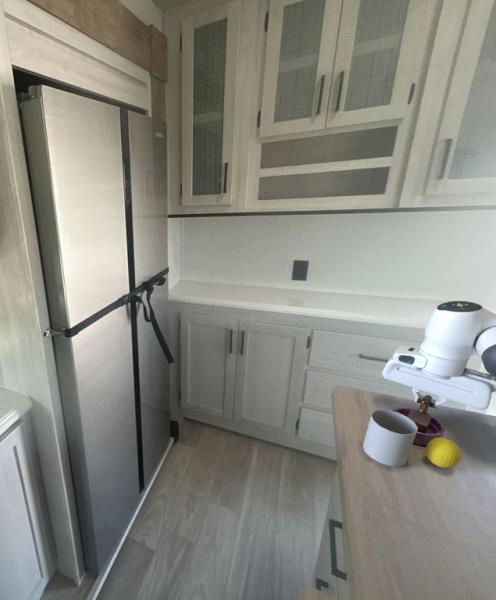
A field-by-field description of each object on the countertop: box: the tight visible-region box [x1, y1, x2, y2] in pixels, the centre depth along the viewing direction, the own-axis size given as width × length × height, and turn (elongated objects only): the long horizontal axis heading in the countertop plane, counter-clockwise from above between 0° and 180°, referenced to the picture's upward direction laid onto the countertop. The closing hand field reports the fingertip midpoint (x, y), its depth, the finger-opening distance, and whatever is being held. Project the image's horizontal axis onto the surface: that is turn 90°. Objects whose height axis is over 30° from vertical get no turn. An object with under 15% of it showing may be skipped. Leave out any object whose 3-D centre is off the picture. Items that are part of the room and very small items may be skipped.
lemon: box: [425, 437, 462, 469], centre depth 76 cm, size 6×6×8 cm
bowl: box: [391, 406, 446, 447], centre depth 86 cm, size 10×10×4 cm
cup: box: [362, 409, 418, 468], centre depth 80 cm, size 8×8×10 cm
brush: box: [407, 394, 433, 433], centre depth 88 cm, size 14×4×6 cm, turn 129°
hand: (425, 404), depth 90 cm, fingers closed on brush
